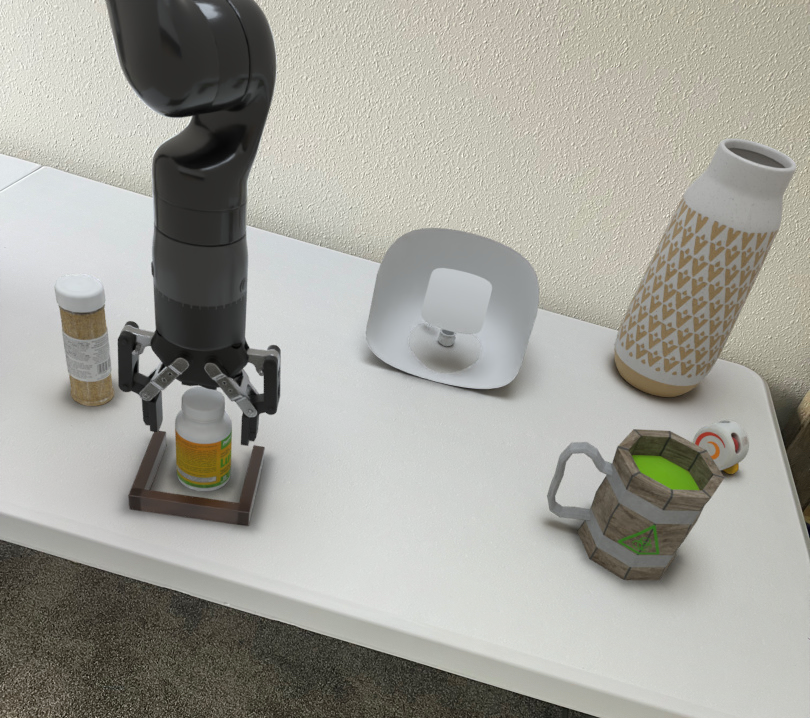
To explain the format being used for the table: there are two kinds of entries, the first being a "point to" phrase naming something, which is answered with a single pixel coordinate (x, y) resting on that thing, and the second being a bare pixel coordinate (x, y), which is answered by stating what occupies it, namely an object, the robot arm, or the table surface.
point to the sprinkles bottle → (85, 338)
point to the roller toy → (724, 444)
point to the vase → (703, 269)
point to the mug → (641, 501)
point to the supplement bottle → (203, 440)
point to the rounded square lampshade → (454, 303)
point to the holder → (191, 505)
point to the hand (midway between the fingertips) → (201, 433)
